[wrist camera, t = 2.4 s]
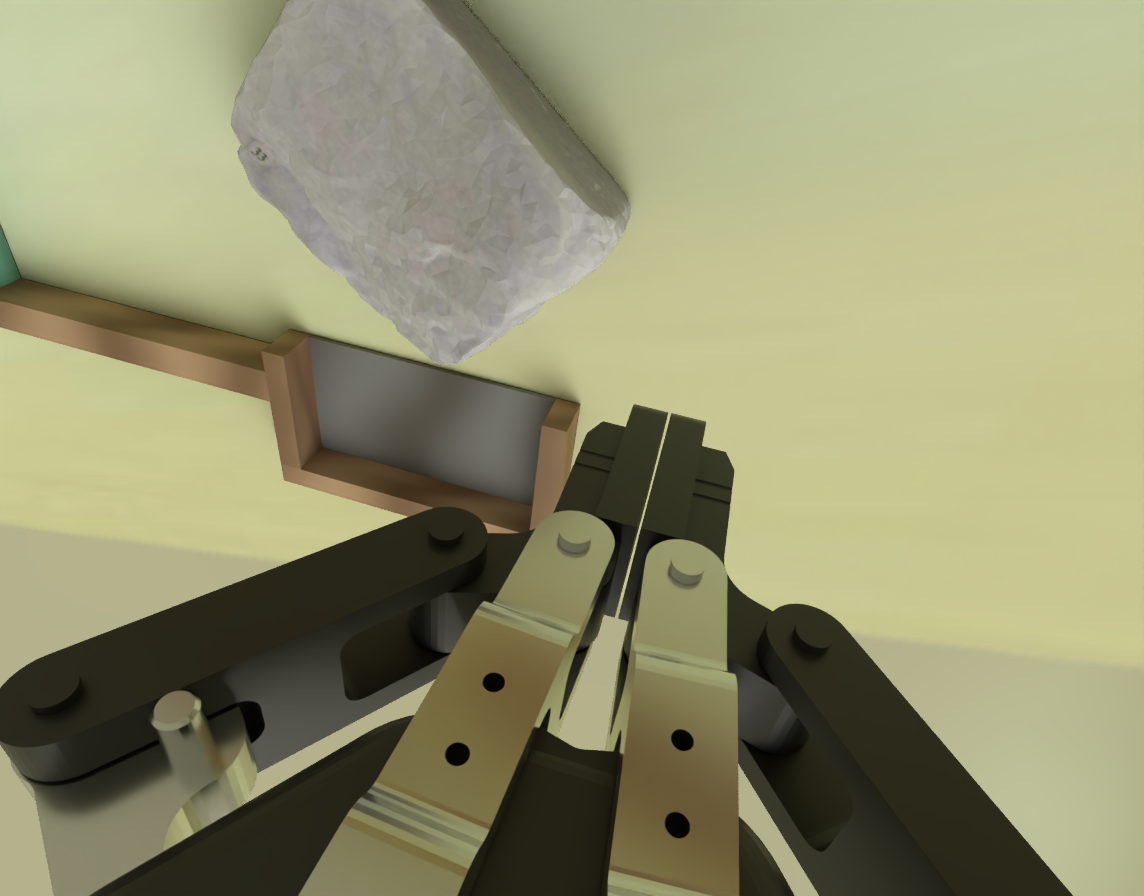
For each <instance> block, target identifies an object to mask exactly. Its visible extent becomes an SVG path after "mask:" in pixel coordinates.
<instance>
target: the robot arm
mask: <svg viewBox="0 0 1144 896" xmlns="http://www.w3.org/2000/svg"><path fill="white" fill-rule="evenodd" d="M667 416H668V412H664V411H660V410H656V409H652V408H648V407H644V406H640V405H636V404H634V405H633V408H632V411H631V414H630V416H629V419H628V422H627V425H626V427H623V426H619V425H615V424H611V423H607V422H602V423H600V424H599V425H597V426H596V427H595V428H593V429H592V430H591V431H589V432H588V433H587V435H586V437H585V439H584V442H583V444H582V446H581V449H580V452H579V453H578V456H577V458H576V461H575V464H574V465H573V468H572V470H571V472H570V475H569V477H568V479H567V482H566V484H565V487H564V489H563V491H562V494H561V496H560V498H559V501H558V503H557V505H556V508H555V510H554V512H553V514H550V515H548V516H547V517H545V518H544V519H542V520H541V521H540V522H539V524H538V525H537V527H536V528H535V529H533V530H530V531H526V532H521V533H487V529H486V526H485V524H484V523H483V522H482V520H481V519H480V518H479V517H478V516H476V515H475V514H473V513H471V512H469V511H467V510H464V509H461V508H456V507H437V508H432V509H429V510H425V511H423V512H420V513H418V514H415V515H412V516H410V517H407V518H404V519H402V520H399V521H397V522H394V523H391V524H389V525H386V526H384V527H381V528H378V529H376V530H373V531H370V532H368V533H365V534H363V535H360V536H357V537H355V538H352V539H349V540H347V541H344V542H342V543H339V544H336V545H334V546H331V547H329V548H326V549H323V550H321V551H318V552H315V553H313V554H310V555H308V556H305V557H302V558H300V559H297V560H295V561H292V562H289V563H287V564H284V565H281V566H279V567H276V568H274V569H271V570H268V571H266V572H263V573H261V574H258V575H255V576H253V577H250V578H247V579H245V580H242V581H240V582H237V583H234V584H232V585H229V586H226V587H224V588H221V589H219V590H216V591H213V592H211V593H208V594H206V595H203V596H200V597H198V598H195V599H193V600H190V601H187V602H185V603H182V604H179V605H177V606H174V607H172V608H169V609H166V610H164V611H161V612H158V613H156V614H153V615H151V616H148V617H145V618H143V619H140V620H138V621H135V622H132V623H130V624H127V625H124V626H122V627H119V628H116V629H114V630H111V631H109V632H106V633H103V634H101V635H98V636H96V637H93V638H90V639H88V640H85V641H82V642H80V643H77V644H75V645H72V646H69V647H67V648H64V649H61V650H59V651H56V652H54V653H51V654H49V655H46V656H44V657H41V658H39V659H37V660H35V661H33V662H31V663H30V664H28V665H26V666H25V667H23V668H22V669H20V670H19V671H18V672H16V673H15V674H14V675H13V676H11V677H10V678H9V679H8V680H7V681H6V683H4V684H3V685H2V687H1V688H0V745H1V747H2V748H3V749H4V751H5V752H6V754H7V755H8V756H9V757H10V760H11V765H12V767H13V770H14V772H15V773H16V775H17V776H18V777H19V778H20V780H21V782H22V783H23V784H24V786H25V787H26V788H27V790H28V791H29V793H30V794H31V795H32V797H33V798H34V800H35V801H36V804H37V810H38V815H39V820H40V825H41V831H42V836H43V841H44V847H45V851H46V857H47V863H48V867H49V873H50V878H51V884H52V889H53V894H54V896H794V894H793V892H792V890H791V889H790V887H789V885H788V883H787V881H786V879H785V878H784V876H783V874H782V872H781V871H780V869H779V867H778V865H777V864H776V862H775V860H774V858H773V857H772V855H771V854H770V852H769V851H768V850H767V848H766V847H765V845H764V844H763V842H762V841H761V840H760V838H759V837H758V836H757V835H756V834H755V833H754V832H753V830H752V829H751V828H750V827H749V826H748V825H747V824H746V823H745V822H744V821H743V820H742V819H741V818H740V817H739V812H738V810H739V808H738V807H739V806H738V764H739V765H740V767H741V769H742V770H743V771H744V774H745V775H746V777H747V778H748V780H749V782H750V783H751V785H752V787H753V788H754V790H755V791H756V793H757V795H758V796H759V798H760V800H761V801H762V803H763V805H764V806H765V808H766V809H767V811H768V813H769V814H770V816H771V818H772V819H773V821H774V823H775V824H776V826H777V827H778V829H779V831H780V832H781V834H782V836H783V837H784V839H785V841H786V842H787V844H788V845H789V847H790V849H791V850H792V852H793V854H794V855H795V857H796V858H797V860H798V862H799V863H800V865H801V867H802V868H803V870H804V872H805V873H806V874H807V877H808V878H809V880H810V881H811V883H812V885H813V886H814V888H815V890H816V891H817V893H818V894H819V896H1073V895H1072V894H1071V893H1070V892H1069V891H1068V889H1067V888H1066V887H1065V886H1064V885H1063V883H1062V882H1061V881H1060V880H1059V879H1058V878H1057V877H1056V875H1055V874H1054V873H1053V872H1052V871H1051V870H1050V868H1049V867H1048V866H1047V865H1046V863H1045V862H1044V861H1043V860H1042V859H1041V858H1040V856H1039V855H1038V854H1037V853H1036V852H1035V851H1034V849H1033V848H1032V847H1031V846H1030V845H1029V843H1028V842H1027V841H1026V840H1025V839H1024V838H1023V836H1022V835H1021V834H1020V833H1019V832H1018V831H1017V829H1016V828H1015V827H1014V826H1013V825H1012V824H1011V822H1010V821H1009V820H1008V819H1007V818H1006V817H1005V815H1004V814H1003V813H1002V812H1001V811H1000V809H999V808H998V807H997V806H996V805H995V804H994V802H993V801H992V800H991V799H990V798H989V797H988V795H987V794H986V793H985V792H984V791H983V790H982V789H981V787H980V786H979V785H978V784H977V782H976V781H975V780H974V779H973V778H972V777H971V775H970V774H969V773H968V772H967V771H966V769H965V768H964V767H963V766H962V765H961V764H960V762H959V761H958V760H957V759H956V758H955V757H954V756H953V754H952V753H951V752H950V751H949V750H948V749H947V747H946V746H945V745H944V744H943V742H942V741H941V740H940V739H939V738H938V737H937V735H936V734H935V733H934V732H933V731H932V730H931V729H930V727H929V726H928V725H927V724H926V722H925V721H924V720H923V719H922V718H921V717H920V715H919V714H918V713H917V712H916V711H915V710H914V708H913V707H912V706H911V705H910V704H909V703H908V701H907V700H906V699H905V698H904V697H903V695H902V694H901V693H900V692H899V691H898V690H897V688H896V687H895V686H894V685H893V684H892V683H891V681H890V680H889V679H888V678H887V677H886V676H885V675H884V673H883V672H882V671H881V670H880V669H879V667H878V666H877V665H876V664H875V663H874V661H873V660H872V659H871V658H870V657H869V656H868V654H867V653H866V652H865V651H864V650H863V648H862V647H861V646H860V645H859V644H858V643H857V642H856V640H855V639H854V638H853V637H852V636H851V634H850V633H849V632H848V631H847V630H846V629H845V627H844V626H843V625H842V624H841V623H840V622H839V621H837V620H836V619H835V618H834V617H832V616H831V615H829V614H828V613H826V612H824V611H822V610H820V609H818V608H815V607H812V606H808V605H804V604H788V605H784V606H781V607H779V608H777V609H776V610H774V611H771V610H769V609H768V608H766V607H764V606H762V605H760V604H759V603H757V602H755V601H753V600H752V599H750V598H749V597H747V596H746V595H745V594H743V593H742V592H741V591H740V590H739V589H738V588H737V587H736V586H735V585H734V584H733V582H732V581H731V580H730V578H729V576H728V575H727V572H726V569H725V565H724V553H725V545H726V536H727V528H728V520H729V511H730V503H731V494H732V486H733V478H734V469H733V466H732V464H731V462H730V460H729V458H728V456H727V454H726V452H723V451H719V450H715V449H711V448H707V447H703V446H702V442H703V437H704V431H705V426H706V422H705V421H701V420H697V419H693V418H689V417H685V416H681V415H677V414H673V413H671V417H670V421H669V424H668V428H667V432H666V436H665V439H664V443H663V447H662V451H661V455H660V458H659V462H658V466H657V470H656V474H655V477H654V481H653V485H652V489H651V492H650V496H649V500H648V504H647V508H646V511H645V515H644V519H643V523H642V526H641V530H640V534H639V538H638V542H637V546H636V550H635V554H634V558H633V562H632V566H631V570H630V574H629V578H628V582H627V586H626V590H625V594H624V598H623V601H622V605H621V609H620V613H619V619H622V620H626V621H629V622H628V626H627V630H626V634H625V638H624V642H623V646H622V649H621V653H620V657H619V662H618V669H617V676H616V682H615V688H614V695H613V701H612V708H611V715H610V721H609V727H608V734H607V740H606V747H605V751H598V750H582V749H578V748H575V747H573V746H571V745H569V744H568V743H566V742H564V741H563V740H561V739H559V738H558V737H557V736H558V733H559V731H560V728H561V725H562V723H563V720H564V718H565V715H566V712H567V710H568V707H569V705H570V702H571V700H572V697H573V695H574V692H575V690H576V687H577V685H578V682H579V679H580V677H581V674H582V672H583V669H584V667H585V664H586V662H587V659H588V657H589V654H590V651H591V648H592V644H593V641H594V640H595V639H596V637H597V635H598V633H599V630H600V626H601V623H602V619H603V616H604V615H607V616H611V617H615V614H616V611H617V607H618V603H619V599H620V596H621V592H622V588H623V585H624V581H625V577H626V573H627V570H628V566H629V562H630V559H631V555H632V551H633V547H634V544H635V540H636V536H637V532H638V529H639V525H640V521H641V518H642V514H643V510H644V506H645V503H646V499H647V495H648V491H649V487H650V484H651V480H652V476H653V472H654V468H655V464H656V460H657V456H658V452H659V448H660V444H661V440H662V436H663V432H664V428H665V424H666V420H667ZM434 679H436V680H435V681H434V683H433V685H432V686H431V688H430V690H429V691H428V693H427V695H426V696H425V698H424V700H423V702H422V704H421V705H420V707H419V708H418V711H417V712H416V714H415V715H412V716H408V717H404V718H400V719H397V720H394V721H391V722H389V723H387V724H384V725H382V726H379V727H377V728H375V729H373V730H371V731H369V732H368V733H366V734H364V735H362V736H361V737H359V738H357V739H355V740H354V741H352V742H350V743H349V744H347V745H345V746H343V747H342V748H340V749H338V750H337V751H335V752H333V753H332V754H330V755H328V756H326V757H325V758H323V759H321V760H319V761H318V762H316V763H314V764H313V765H311V766H309V767H308V768H306V769H304V770H302V771H301V772H299V773H297V774H295V775H294V776H292V777H290V778H289V779H287V780H285V781H284V782H282V783H280V784H278V785H277V786H275V787H273V788H271V789H270V790H268V791H266V792H265V793H263V794H261V795H259V796H258V797H256V798H254V799H253V800H251V801H249V802H247V803H246V804H244V802H245V801H246V800H247V798H248V797H249V795H250V793H251V791H252V789H253V787H254V784H255V781H256V777H257V773H259V772H260V771H262V770H264V769H266V768H268V767H270V766H272V765H274V764H275V763H277V762H279V761H281V760H283V759H285V758H287V757H289V756H291V755H293V754H295V753H296V752H298V751H300V750H302V749H304V748H306V747H308V746H310V745H312V744H313V743H315V742H317V741H319V740H321V739H323V738H325V737H326V736H329V735H330V734H332V733H334V732H336V731H338V730H340V729H342V728H344V727H346V726H347V725H349V724H351V723H353V722H355V721H357V720H359V719H361V718H363V717H365V716H366V715H368V714H370V713H372V712H374V711H376V710H378V709H380V708H382V707H383V706H385V705H387V704H389V703H391V702H393V701H395V700H397V699H399V698H400V697H402V696H404V695H406V694H408V693H410V692H412V691H414V690H416V689H417V688H419V687H421V686H423V685H425V684H427V683H429V682H431V681H433V680H434ZM243 804H244V805H243Z"/></svg>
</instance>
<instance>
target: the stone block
mask: <svg viewBox="0 0 1144 896" xmlns="http://www.w3.org/2000/svg"><path fill="white" fill-rule="evenodd" d="M231 126H232V128H233V130H234V132H235V134H236V136H237V138H238V140H239V142H240V144H241V146H240V148H239V150H238V151H237V152H238V156H239V159H240V161H241V163H242V165H243V167H244V169H245V171H246V174H247V176H248V179H249V181H250V184H251V186H252V188H253V189H254V190H255V191H256V192H257V193H258V195H259V196H260V197H262V198H263V199H264V200H266V201H267V202H269V203H270V204H271V205H273V206H274V207H276V208H277V209H278V210H279V211H280V212H281V213H282V214H283V216H284V217H285V218H286V219H287V220H288V222H289V224H290V226H291V228H292V230H293V231H294V233H295V234H296V236H297V237H298V238H299V239H300V240H301V241H302V242H303V243H304V244H305V245H306V247H307V248H308V249H309V250H310V251H311V252H312V253H313V254H314V255H315V256H316V257H317V258H318V259H320V260H321V261H322V262H323V263H324V264H325V265H326V266H328V267H329V268H330V269H332V270H333V271H334V272H336V273H337V274H338V275H339V276H343V277H345V278H346V279H347V281H348V282H349V284H350V285H351V286H352V287H353V288H354V289H355V290H356V291H357V292H358V294H359V296H360V297H361V298H362V299H363V300H365V301H366V302H367V303H368V304H370V305H371V306H372V307H373V308H374V309H375V310H376V311H377V312H378V313H380V314H381V315H383V316H384V317H386V318H388V319H390V320H392V322H393V323H394V325H395V326H396V328H397V331H398V332H399V333H400V334H402V335H403V336H404V337H405V338H406V339H408V340H409V341H410V342H411V343H412V344H413V345H414V346H415V347H417V348H418V349H419V350H420V351H421V352H422V353H424V354H425V355H426V356H428V357H429V358H430V359H431V360H432V361H434V362H436V363H438V364H439V365H443V366H446V365H447V364H448V365H452V364H458V363H462V362H463V361H465V360H466V359H467V358H468V357H471V356H472V355H474V354H476V353H477V352H480V351H482V350H483V349H485V348H486V347H487V346H489V345H490V344H491V343H493V342H494V341H495V340H496V339H498V338H499V337H501V336H503V335H505V334H506V333H507V332H508V330H510V329H511V328H512V327H514V326H516V325H519V324H522V323H524V322H525V321H526V320H527V319H528V318H530V317H531V316H533V315H535V314H536V313H538V311H539V309H540V308H541V306H542V305H543V304H544V302H545V301H546V300H547V299H549V298H551V297H554V296H556V295H558V294H560V293H562V292H564V291H566V290H568V289H569V288H570V287H572V286H573V285H574V284H576V283H577V282H579V281H580V280H581V279H583V278H584V277H585V276H587V275H588V274H590V273H591V272H593V271H594V270H596V269H597V268H598V267H599V266H600V265H601V264H602V263H603V262H604V261H605V260H606V258H607V256H608V254H609V253H610V251H611V250H612V249H613V247H614V246H615V245H616V243H617V242H618V241H619V239H620V238H621V237H622V235H623V233H624V231H625V229H626V225H627V222H628V220H629V217H630V204H629V202H628V200H627V198H626V196H625V194H624V192H623V191H622V190H621V189H620V187H619V186H618V185H617V184H616V182H615V181H614V180H613V178H612V177H611V176H610V174H609V173H608V172H607V171H606V170H605V169H604V167H603V166H602V165H601V164H600V163H599V162H598V160H597V159H596V158H595V157H594V156H593V155H592V154H591V152H590V151H589V150H588V149H587V148H586V147H585V145H584V144H583V143H582V142H581V141H580V139H579V138H578V137H577V136H576V135H575V133H574V132H573V131H572V130H571V129H570V127H569V126H568V125H567V124H566V123H565V122H564V120H563V119H562V118H561V117H560V116H559V115H558V113H557V112H556V111H555V110H554V109H553V107H552V106H551V105H550V104H549V103H548V101H547V100H546V99H545V98H544V96H543V95H542V94H541V93H540V92H539V90H538V89H537V88H536V87H535V86H534V84H533V83H532V82H531V81H530V80H529V79H528V78H527V77H526V75H525V74H524V73H523V72H522V71H521V70H520V68H519V67H518V66H517V65H516V64H515V62H514V61H513V60H512V59H511V58H510V56H509V55H508V54H507V52H506V51H505V50H504V49H503V47H502V46H501V45H500V44H499V43H498V41H497V40H496V39H495V38H494V37H493V36H492V34H491V33H490V32H489V31H488V30H487V29H486V28H485V26H484V25H483V24H482V23H481V22H480V21H479V20H478V19H477V18H476V17H475V16H474V15H473V14H472V12H471V11H470V9H469V8H468V7H467V5H466V4H465V3H464V2H463V1H462V0H288V2H287V4H286V6H285V7H284V9H283V11H282V13H281V15H280V17H279V18H278V20H277V22H276V23H275V25H274V27H273V28H272V30H271V32H270V34H269V36H268V38H267V40H266V42H265V43H264V45H263V47H262V49H261V50H260V52H259V53H258V55H257V56H256V57H255V58H254V60H253V62H252V64H251V67H250V69H249V71H248V74H247V76H246V78H245V80H244V82H243V84H242V86H241V88H240V90H239V92H238V94H237V96H236V99H235V104H234V108H233V112H232V119H231Z"/></svg>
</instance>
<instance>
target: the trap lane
mask: <svg viewBox="0 0 1144 896" xmlns="http://www.w3.org/2000/svg"><path fill="white" fill-rule="evenodd" d="M0 327H1V328H5V329H9V330H12V331H16V332H19V333H23V334H27V335H30V336H34V337H38V338H41V339H45V340H49V341H52V342H56V343H59V344H63V345H67V346H70V347H74V348H78V349H81V350H85V351H89V352H92V353H96V354H99V355H103V356H107V357H110V358H114V359H118V360H121V361H125V362H129V363H132V364H136V365H139V366H143V367H147V368H150V369H154V370H158V371H161V372H165V373H168V374H172V375H176V376H179V377H183V378H187V379H190V380H194V381H198V382H201V383H205V384H208V385H212V386H216V387H219V388H223V389H227V390H230V391H234V392H238V393H241V394H245V395H248V396H252V397H256V398H259V399H263V400H267V401H270V403H271V409H272V415H273V420H274V426H275V432H276V437H277V443H278V449H279V454H280V460H281V465H282V471H283V477H284V480H285V481H288V482H292V483H295V484H299V485H302V486H305V487H309V488H312V489H316V490H319V491H323V492H326V493H329V494H333V495H336V496H340V497H343V498H347V499H350V500H353V501H357V502H360V503H364V504H367V505H371V506H374V507H377V508H381V509H384V510H388V511H391V512H395V513H398V514H401V515H405V516H408V517H410V516H412V515H415V514H418V513H420V512H423V511H425V510H429V509H432V508H437V507H456V508H461V509H464V510H467V511H469V512H471V513H473V514H475V515H476V516H478V517H479V518H480V519H481V520H482V522H483V523H484V524H485V526H486V529H487V533H521V532H526V531H530V530H533V529H535V528H536V527H537V525H538V524H539V522H540V521H541V520H542V519H544V518H545V517H547V516H548V515H550V514H553V512H554V510H555V508H556V505H557V503H558V501H559V498H560V496H561V494H562V491H563V489H564V487H565V484H566V482H567V479H568V477H569V475H570V468H571V462H572V455H573V449H574V442H575V436H576V429H577V423H578V416H579V410H580V404H577V403H573V402H569V401H565V400H562V399H558V398H554V397H550V396H546V395H542V394H538V393H534V392H531V391H527V390H523V389H519V388H515V387H511V386H507V385H503V384H500V383H496V382H492V381H488V380H484V379H480V378H476V377H472V376H469V375H465V374H461V373H457V372H453V371H449V370H445V369H441V368H438V367H434V366H430V365H426V364H422V363H418V362H414V361H410V360H407V359H403V358H399V357H395V356H391V355H387V354H383V353H379V352H376V351H372V350H368V349H364V348H360V347H356V346H352V345H348V344H345V343H341V342H337V341H333V340H329V339H325V338H321V337H317V336H314V335H310V334H306V333H302V332H298V331H294V330H290V329H289V330H288V331H287V332H285V333H284V334H283V335H282V336H280V337H279V338H278V339H276V340H275V341H274V342H272V343H271V344H270V343H266V342H262V341H258V340H254V339H251V338H247V337H243V336H239V335H235V334H232V333H228V332H224V331H220V330H216V329H213V328H209V327H205V326H201V325H197V324H193V323H190V322H186V321H182V320H178V319H174V318H171V317H167V316H163V315H159V314H155V313H152V312H148V311H144V310H140V309H136V308H132V307H129V306H125V305H121V304H117V303H113V302H110V301H106V300H102V299H98V298H94V297H91V296H87V295H83V294H79V293H75V292H72V291H68V290H64V289H60V288H56V287H52V286H49V285H45V284H41V283H37V282H33V281H30V280H26V279H22V278H21V277H20V274H19V272H18V269H17V267H16V264H15V262H14V259H13V256H12V254H11V251H10V249H9V246H8V244H7V241H6V239H5V236H4V233H3V231H2V228H1V226H0Z"/></svg>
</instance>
